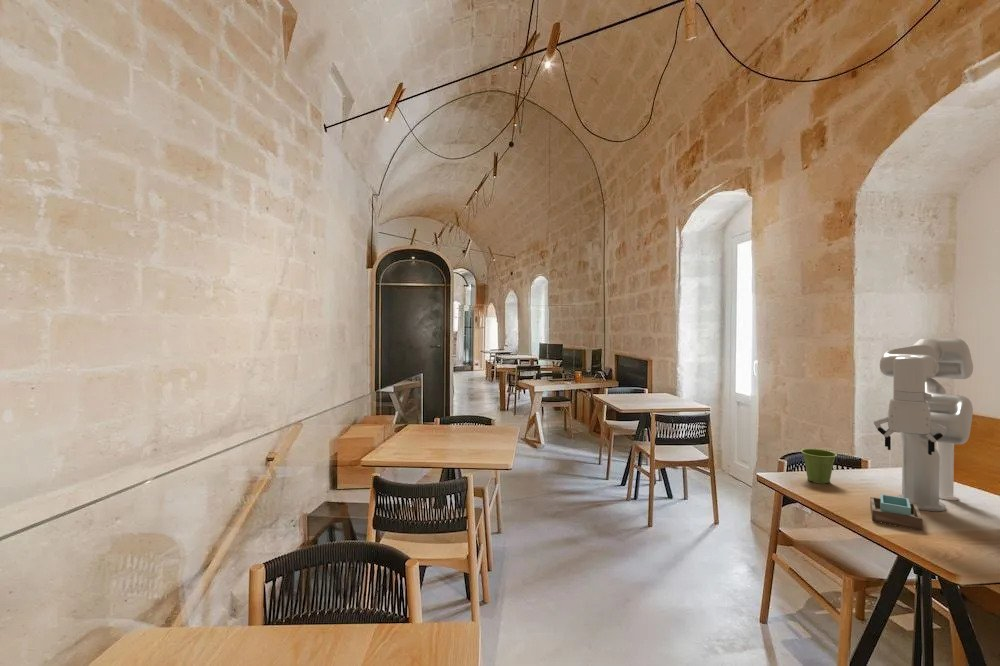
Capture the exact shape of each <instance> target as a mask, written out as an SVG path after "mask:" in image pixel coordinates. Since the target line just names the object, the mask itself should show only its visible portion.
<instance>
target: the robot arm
mask: <svg viewBox="0 0 1000 666" xmlns="http://www.w3.org/2000/svg"><path fill="white" fill-rule="evenodd" d="M879 369H880V372H881V374H883V375H884V376H887V377H892V378H893V398H891V399H890V400H889V404H888V413H887V417H883V418H880V419H877V420H874V421H873V424H874V427H875V428H876V429H877V431H878V432H879V433H880V434H881V435H883V437H884V447H887V451H891V447H892V446H891V445H892V443H891V439H892V438H891V435H893V433H900V435H901V436H900V437H901V445H902V446H901V447H902V448H901V449H902V450H901V451H902V452H901V455H902V456H901V457H902V458H901V459H902V460H901V463H902V465H901V467H902V468H901V475H902V476H901V494H900V495H896V497H902V498H908V499H909V502H910V503H912V504H916V505H917V507H918V510H921V511H929V512H932V511H933V512H943V511H946V508H947V507H946V504H945V503H943V502H942V501H940V498H939V467H940V456H939V453H938V451H937V448H936V445H935V444H936V443H937V442H944V443H951V444H954V445H963V444H965V443H967V442H968V440H969V438H970V434H971V429H972V422H973V415H974V414H973V413H974V408H973V404H972V401H971V400H970V399H969V398H968V397H966V396H964V395H960V394H949V393H947V392H946V389H945V387H944V386H943V385H942V384H941V383H939V382H938V381H937V380H936V379H949V380H966V379H969V378H970V377H971V376H972V374H973V372H974V363H973V359H972V355H971V350H970V348H969V346H968V344H967V342H966V341H965V340H963V339H961V338H957V337H955V338H951V337H948V338H947V337H945V338H944V337H925V338H921V339H918V340H917V341H915V342H914V343H913V344H912V345H908V346H904V347H903V346H902V347H898V348H897V347H896V348H892V349H890V350H887V351H885V353H884V354H883V355H882V356H881V359H880V361H879ZM886 423H887V427H888V429H886V430H885V428H883V427H882V424H886ZM935 442H936V443H935Z"/></svg>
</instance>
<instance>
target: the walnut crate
mask: <svg viewBox="0 0 1000 666" xmlns="http://www.w3.org/2000/svg"><path fill="white" fill-rule="evenodd" d="M869 502H870V506H869V509H870V508H871V509H870V514H871V515H870V516H871V521H876V522H875V523H878V522H882V523H881V524H883V523H886V524H885V525H889V524H891V525H890V526H894V525H896V526H895V527H899V526H901V528H905V527H906V529H910V528H912V529H913V530H917V531H923V518H922V515H921V512H920V509H918V507H917V505H916V504H912V503H910V507H911V516H908V515H902V514H896V513H890V512H884V511H880V497H874V496H870V500H869ZM912 529H911V530H912Z"/></svg>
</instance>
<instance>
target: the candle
mask: <svg viewBox="0 0 1000 666" xmlns="http://www.w3.org/2000/svg"><path fill="white" fill-rule="evenodd" d="M936 450H937V451H938V453H939V456H940V467H939V500H944V501H945V500H946V501H958V500H959V496H957V495H956V494H954V493H955V491H954V489H955V488H954V483H955V481H954V477H955V475H954V472H955V470H954V469H955V468H954V467H955V465H954V464H955V460H954V459H955V444H951V443H944V442H936Z"/></svg>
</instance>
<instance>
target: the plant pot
mask: <svg viewBox="0 0 1000 666" xmlns="http://www.w3.org/2000/svg"><path fill="white" fill-rule="evenodd" d="M800 453H802V458H803V459H804V466H805V467H804V468H805V472H806V476H807V480H808V481H809V482H813V483H816V484H821V483H822V484H823V485H824V484H827V483H828V484H829V483H830V482H831V478H832V472H833V467H834V462H835V460H836V457H837V456H838V454H837V453H835V452H834V451H830V450H826V449H821V448H820V449H819V448H803V449H800ZM822 484H821V485H822Z"/></svg>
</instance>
